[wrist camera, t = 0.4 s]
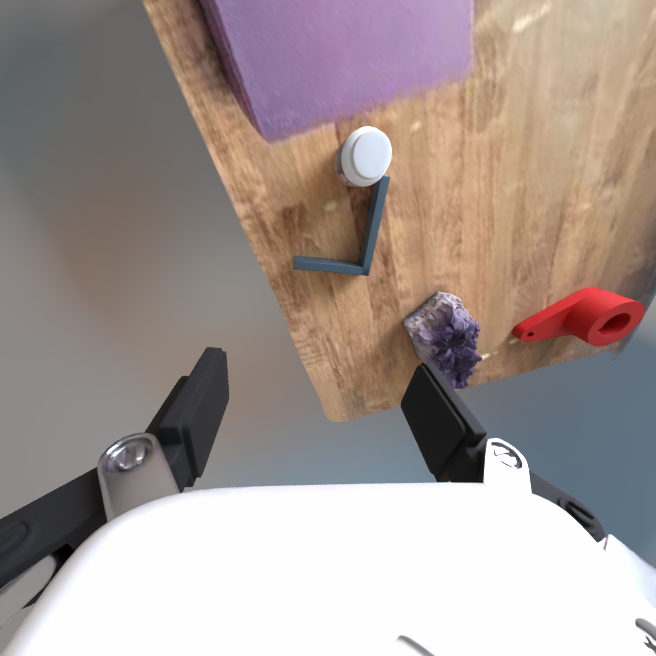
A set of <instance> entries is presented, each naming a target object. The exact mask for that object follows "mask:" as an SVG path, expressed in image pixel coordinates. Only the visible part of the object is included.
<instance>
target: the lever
mask: <svg viewBox="0 0 656 656" xmlns="http://www.w3.org/2000/svg"><path fill="white" fill-rule="evenodd" d="M644 312H645V307H644V305H643V304H642V303H640V302H637V301H634V300H631V299H628V298H625V297H622V296H619V295H616V294H613V293H610V292H608V291H605V290H602V289H599V288H595V287H589V288H585V289H582V290H579V291H577V292H575V293H574V294H572V295H570V296H568V297H566V298H565V299H563V300H561V301H559V302H557V303H556V304H554V305H552V306H550V307H548V308H546V309H545V310H543V311H541V312H539V313H537V314H536V315H534V316H532V317H530V318H528V319H527V320H525V321H523V322H521V323H519V324H518V325H517V326H515V328H514V329H513V335H514V336H516V337H517V338H519V339H520V340H522V341H523V342H529V341H536V340H542V339H548V338H554V337H561V336H567V335H574V336H576V337H578V338H580V339H582V340H583V341H585V342H587V343H589V344H591V345H593V346H605V345H608V344H611V343H614V342H616V341H618V340H620V339H621V338H623V337H624V336H626V335H627V334H629V333H630V332H631V331H632V330H633V329H634V328H635V327H636V326H637V325H638V324H639V322H640V321H641V319H642V318H643V316H644Z"/></svg>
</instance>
